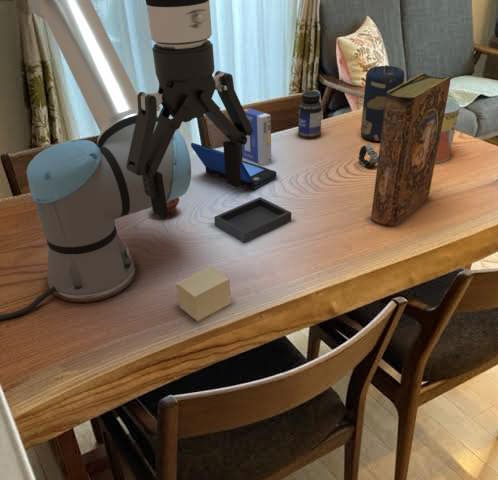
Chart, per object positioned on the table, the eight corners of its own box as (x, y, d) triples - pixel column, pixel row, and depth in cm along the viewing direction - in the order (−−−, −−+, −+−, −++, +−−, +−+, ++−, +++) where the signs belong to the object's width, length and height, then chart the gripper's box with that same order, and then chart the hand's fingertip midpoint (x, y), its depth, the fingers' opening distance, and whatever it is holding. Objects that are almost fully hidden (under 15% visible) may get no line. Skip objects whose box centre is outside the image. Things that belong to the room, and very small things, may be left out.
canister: (401, 134, 146) (411, 62, 135) (388, 146, 140) (398, 72, 128) (368, 128, 150) (375, 58, 139) (354, 139, 144) (360, 67, 133)
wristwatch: (361, 171, 132) (372, 161, 127) (355, 152, 132) (366, 142, 128) (371, 170, 133) (383, 160, 128) (365, 151, 133) (376, 140, 129)
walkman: (242, 157, 138) (240, 109, 130) (250, 153, 139) (248, 106, 131) (263, 165, 133) (262, 116, 125) (271, 162, 134) (271, 113, 127)
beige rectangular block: (197, 321, 87) (194, 296, 84) (179, 307, 90) (176, 283, 87) (231, 303, 90) (229, 278, 87) (212, 290, 93) (210, 266, 90)
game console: (279, 177, 127) (279, 139, 121) (240, 198, 120) (238, 158, 114) (231, 161, 136) (229, 124, 130) (192, 179, 128) (188, 141, 122)
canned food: (447, 166, 129) (458, 115, 122) (399, 160, 133) (407, 111, 125) (451, 148, 137) (461, 100, 130) (406, 143, 141) (414, 96, 133)
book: (392, 229, 107) (411, 99, 91) (367, 221, 110) (382, 93, 94) (428, 198, 117) (451, 76, 101) (405, 191, 120) (424, 71, 104)
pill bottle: (294, 133, 149) (295, 92, 142) (313, 129, 151) (315, 88, 144) (304, 141, 144) (306, 98, 137) (324, 137, 146) (327, 94, 139)
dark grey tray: (244, 243, 105) (244, 234, 104) (214, 225, 111) (214, 216, 110) (291, 220, 111) (291, 212, 110) (260, 205, 117) (260, 196, 116)
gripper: (109, 67, 58) (141, 239, 71) (275, 28, 70) (276, 180, 84) (76, 56, 62) (112, 220, 76) (238, 21, 75) (244, 167, 88)
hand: (198, 199), depth 80 cm, fingers open, 13 cm apart
